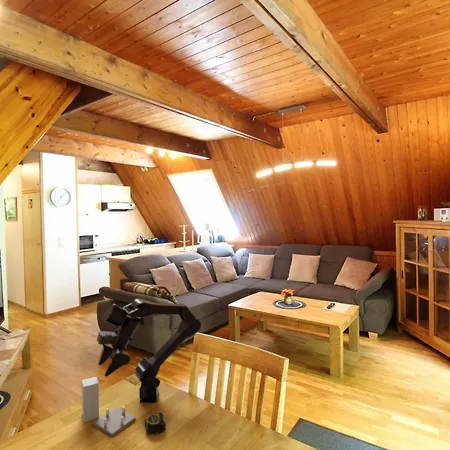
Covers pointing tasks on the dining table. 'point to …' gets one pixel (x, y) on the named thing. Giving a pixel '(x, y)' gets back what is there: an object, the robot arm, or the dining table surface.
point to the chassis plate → (114, 421)
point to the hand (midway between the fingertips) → (102, 370)
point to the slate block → (90, 399)
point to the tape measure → (155, 423)
